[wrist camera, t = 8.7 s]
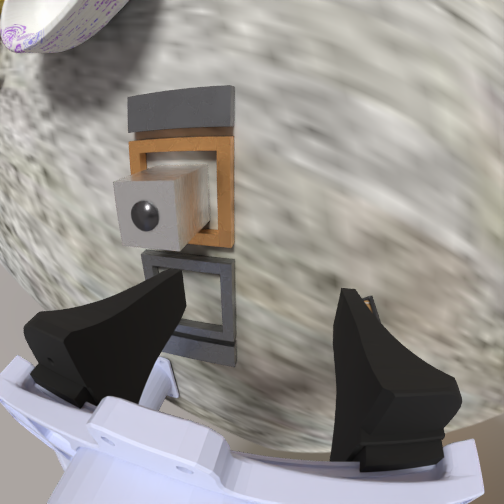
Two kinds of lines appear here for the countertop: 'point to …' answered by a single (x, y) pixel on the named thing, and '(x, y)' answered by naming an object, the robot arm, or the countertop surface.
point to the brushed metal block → (163, 206)
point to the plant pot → (1, 5)
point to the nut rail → (215, 115)
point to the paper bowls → (53, 23)
